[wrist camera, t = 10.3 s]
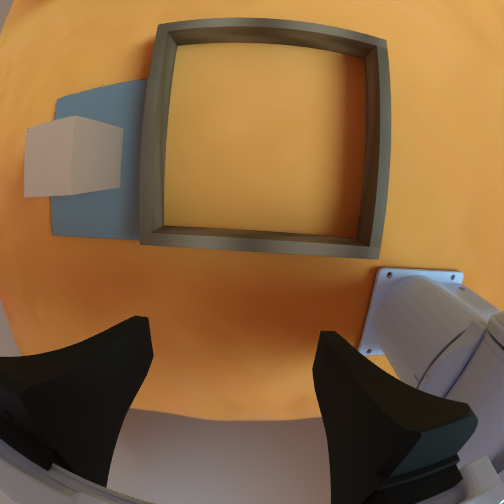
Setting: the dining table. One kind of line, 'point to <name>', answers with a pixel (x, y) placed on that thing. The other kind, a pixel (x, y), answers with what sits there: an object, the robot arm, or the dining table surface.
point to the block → (72, 157)
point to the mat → (127, 196)
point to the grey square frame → (272, 33)
